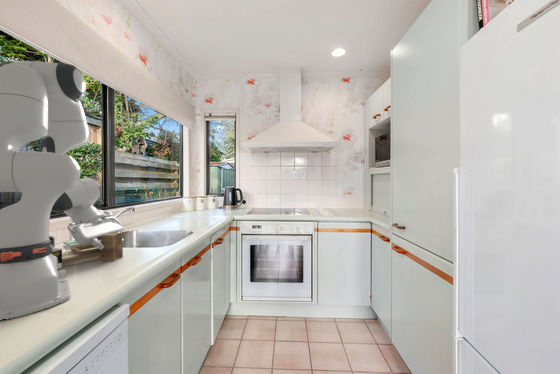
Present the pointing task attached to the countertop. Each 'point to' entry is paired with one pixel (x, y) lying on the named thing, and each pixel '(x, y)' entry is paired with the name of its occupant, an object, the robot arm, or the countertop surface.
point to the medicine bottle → (56, 250)
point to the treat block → (112, 247)
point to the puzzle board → (80, 254)
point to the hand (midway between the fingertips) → (113, 245)
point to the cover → (74, 243)
